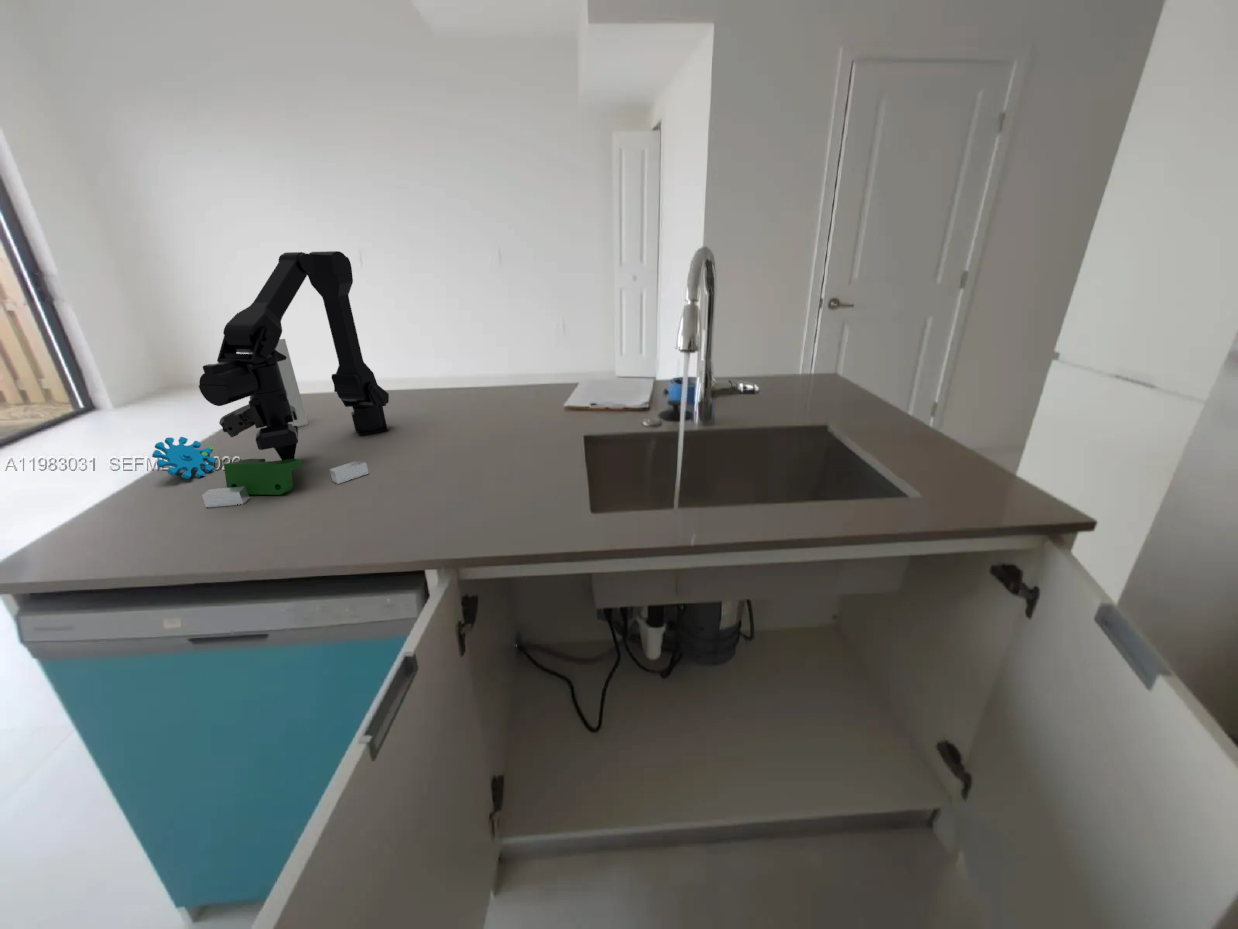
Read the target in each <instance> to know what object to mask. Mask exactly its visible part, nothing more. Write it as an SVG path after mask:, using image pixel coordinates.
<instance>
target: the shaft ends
mask: <svg viewBox="0 0 1238 929" xmlns="http://www.w3.org/2000/svg"><path fill="white" fill-rule="evenodd" d="M368 468H369V467H368V464H367V462H366V461H365V460H362V459H357V460H354V461H351V462H348V463H345V464H341V465H338V466H335V467H332V468H329V469H328V470H329V473H330V476H331V480H332V482H333V483H335V484H336V485H339V484H342V483H345V482H348V481H350V480H351V479H352V480H354V479H356V478H360V477H364V476H366V475H368V474H369V469H368ZM201 497H202V500H203V502H204V505H205V508H206V507H208V508H218V507H228V506H229V507H230V506H239V505H240V504H241V505H245V504H246V502H247V501H248V500H250V494H248V492H247V489H246V486H242V487H231V488H227V487H222V488H219V487H218V488H210V489H208V490H207V491H205V492H204V493H203V494H201ZM237 504H238V505H237Z"/></svg>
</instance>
